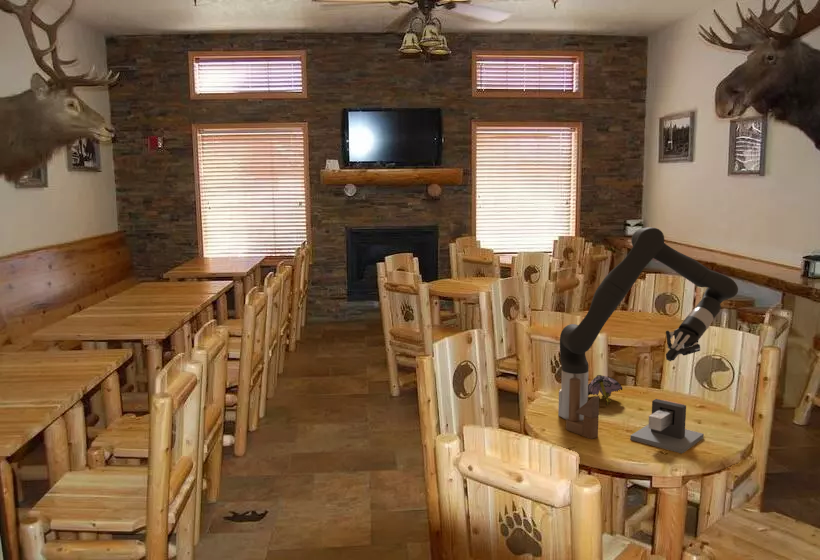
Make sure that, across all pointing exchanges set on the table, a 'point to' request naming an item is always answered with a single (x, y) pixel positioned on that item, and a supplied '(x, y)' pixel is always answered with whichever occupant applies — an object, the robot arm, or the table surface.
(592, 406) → the wooden block
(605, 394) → the decorative flower
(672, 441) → the base plate
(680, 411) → the rubber collar
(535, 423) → the table surface
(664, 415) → the sliding block
